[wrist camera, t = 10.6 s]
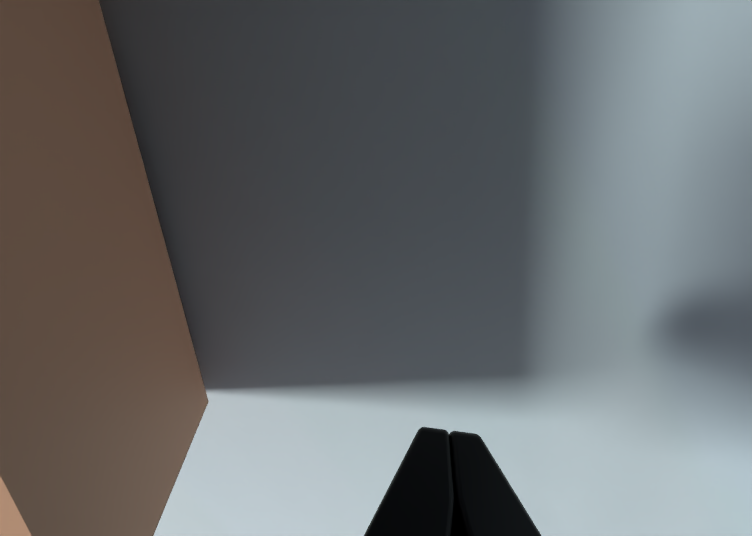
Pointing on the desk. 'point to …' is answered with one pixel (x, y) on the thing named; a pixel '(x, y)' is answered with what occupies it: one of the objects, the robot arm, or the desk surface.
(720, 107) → the desk surface
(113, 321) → the door
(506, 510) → the robot arm
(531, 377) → the desk surface
